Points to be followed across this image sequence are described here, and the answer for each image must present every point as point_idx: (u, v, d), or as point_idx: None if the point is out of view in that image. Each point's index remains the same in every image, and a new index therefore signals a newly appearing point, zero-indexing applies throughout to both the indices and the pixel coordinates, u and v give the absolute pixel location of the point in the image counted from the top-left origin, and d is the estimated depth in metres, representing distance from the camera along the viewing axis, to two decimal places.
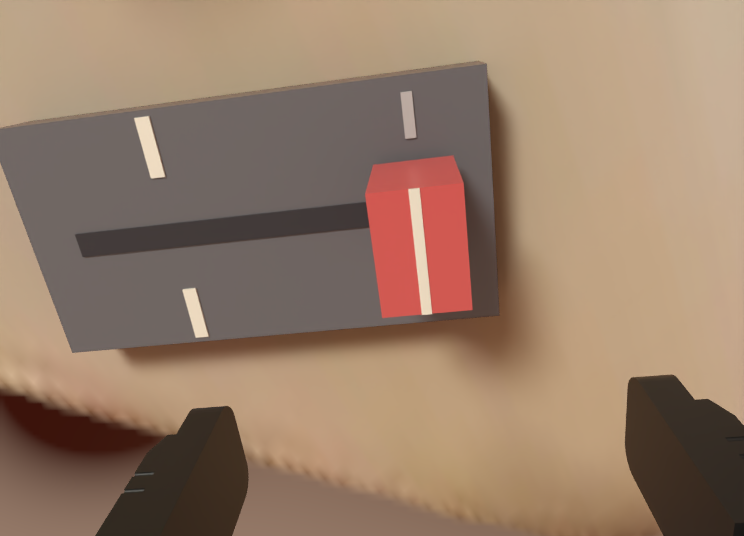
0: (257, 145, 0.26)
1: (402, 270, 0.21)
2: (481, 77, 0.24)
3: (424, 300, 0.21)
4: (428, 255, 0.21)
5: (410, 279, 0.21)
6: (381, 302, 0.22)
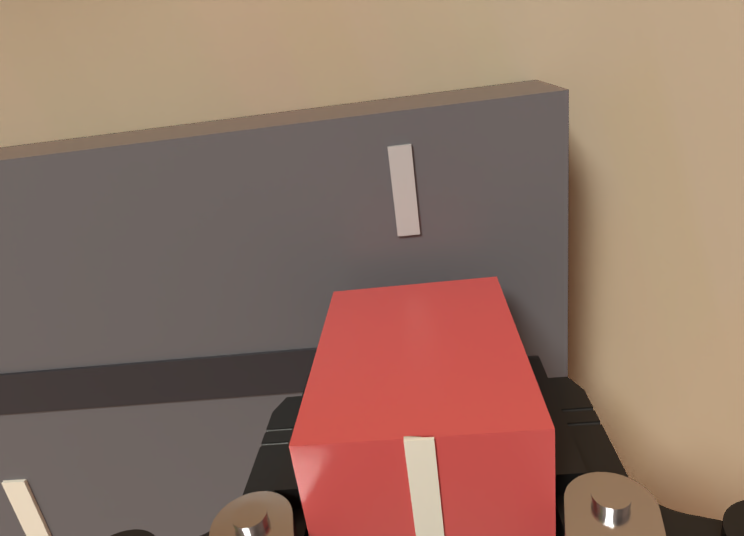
0: (110, 244, 0.13)
1: None
2: (556, 117, 0.11)
3: None
4: None
5: None
6: None
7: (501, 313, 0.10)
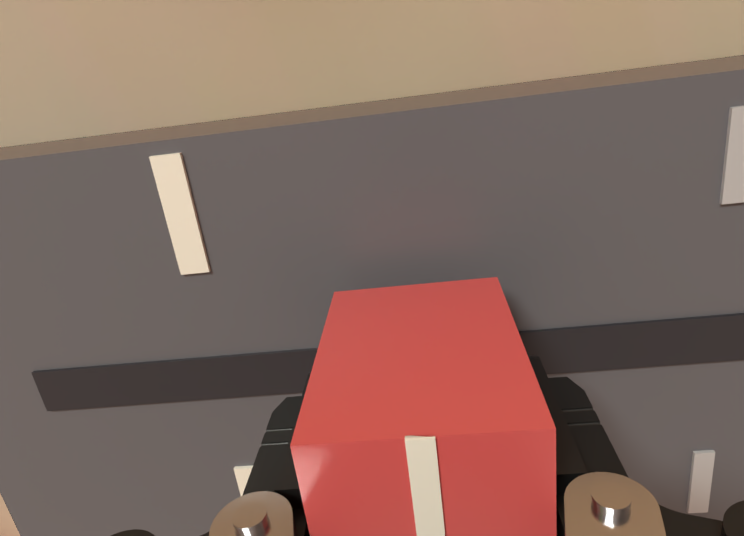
0: (403, 213, 0.12)
1: None
2: None
3: None
4: None
5: None
6: None
7: (502, 313, 0.10)
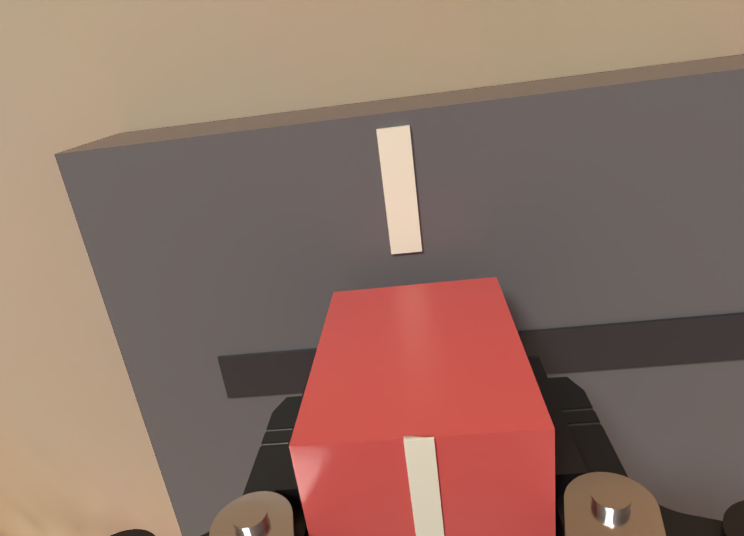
0: (637, 188, 0.12)
1: None
2: None
3: None
4: None
5: None
6: None
7: (501, 313, 0.10)
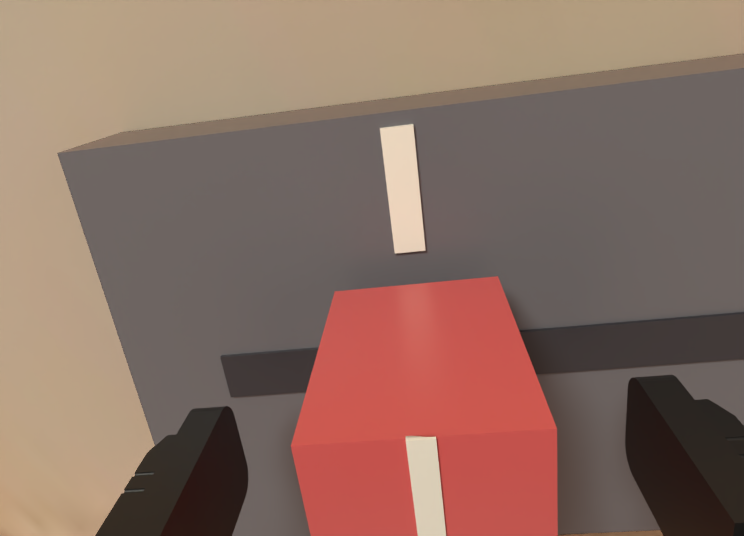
0: (640, 188, 0.12)
1: None
2: None
3: None
4: None
5: None
6: None
7: (502, 313, 0.10)
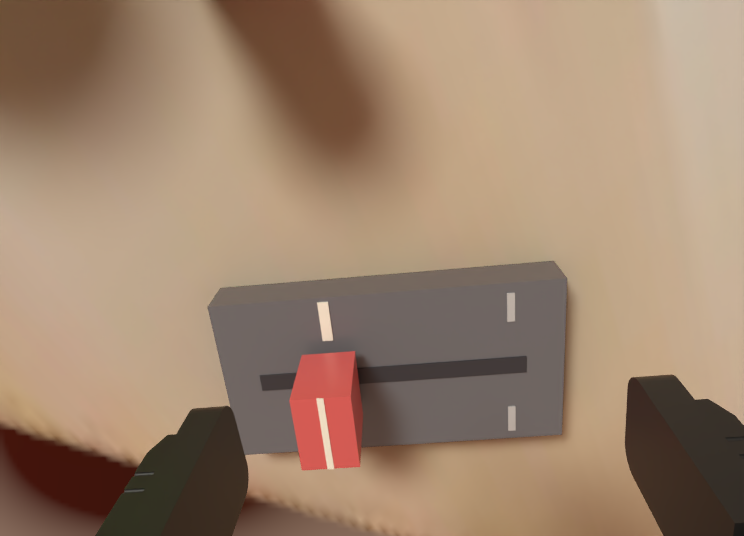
0: (402, 322, 0.36)
1: (314, 443, 0.33)
2: (562, 286, 0.35)
3: (328, 460, 0.33)
4: (330, 435, 0.33)
5: (319, 448, 0.33)
6: (301, 461, 0.33)
7: (351, 365, 0.35)
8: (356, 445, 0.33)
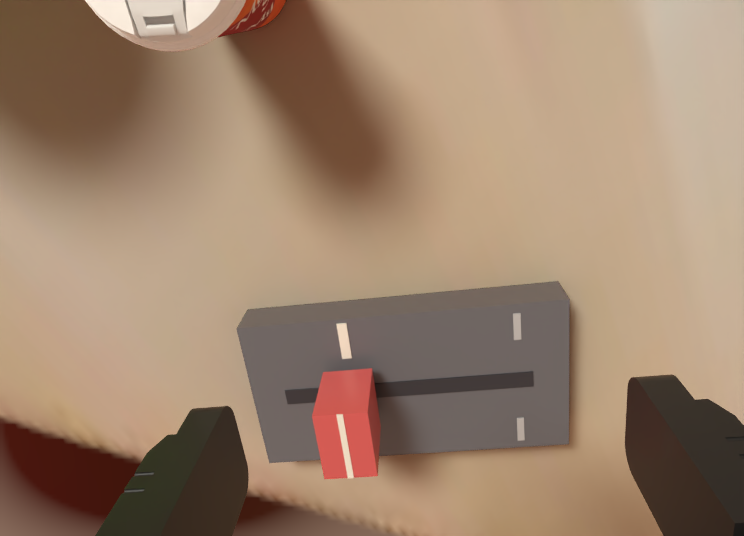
0: (416, 341, 0.39)
1: (335, 454, 0.36)
2: (565, 306, 0.38)
3: (348, 470, 0.36)
4: (350, 447, 0.36)
5: (340, 459, 0.36)
6: (323, 471, 0.36)
7: (368, 382, 0.38)
8: (373, 456, 0.36)
